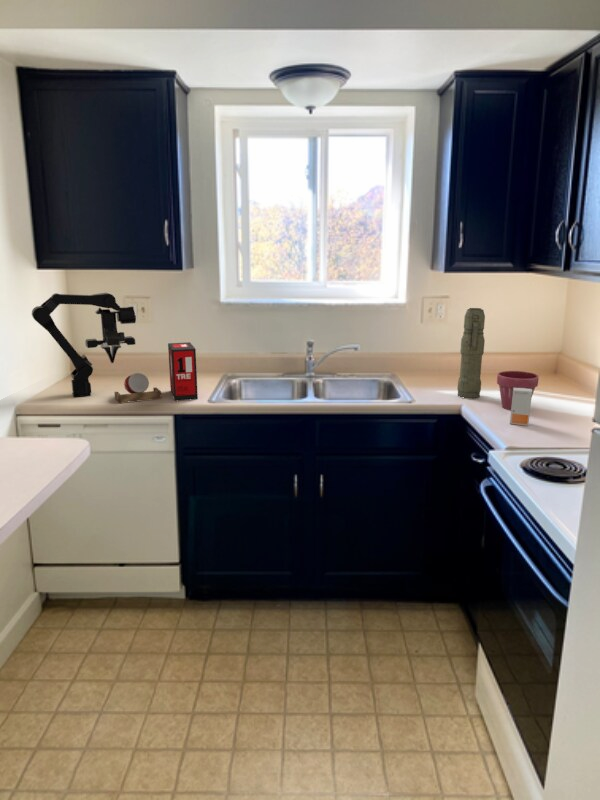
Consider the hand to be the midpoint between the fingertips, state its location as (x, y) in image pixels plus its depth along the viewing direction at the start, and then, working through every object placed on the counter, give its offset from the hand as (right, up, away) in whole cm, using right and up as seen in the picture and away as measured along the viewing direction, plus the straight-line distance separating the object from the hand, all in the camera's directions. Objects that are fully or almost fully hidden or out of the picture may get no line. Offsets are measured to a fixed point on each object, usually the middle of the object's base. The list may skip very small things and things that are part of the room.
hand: (112, 362), depth 236 cm
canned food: (+9, -9, -2) cm, 13 cm away
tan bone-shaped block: (+13, -15, -9) cm, 22 cm away
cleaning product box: (+30, -13, -2) cm, 33 cm away
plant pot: (+157, -18, -21) cm, 159 cm away
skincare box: (+151, -23, -40) cm, 158 cm away
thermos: (+145, -14, -4) cm, 145 cm away
